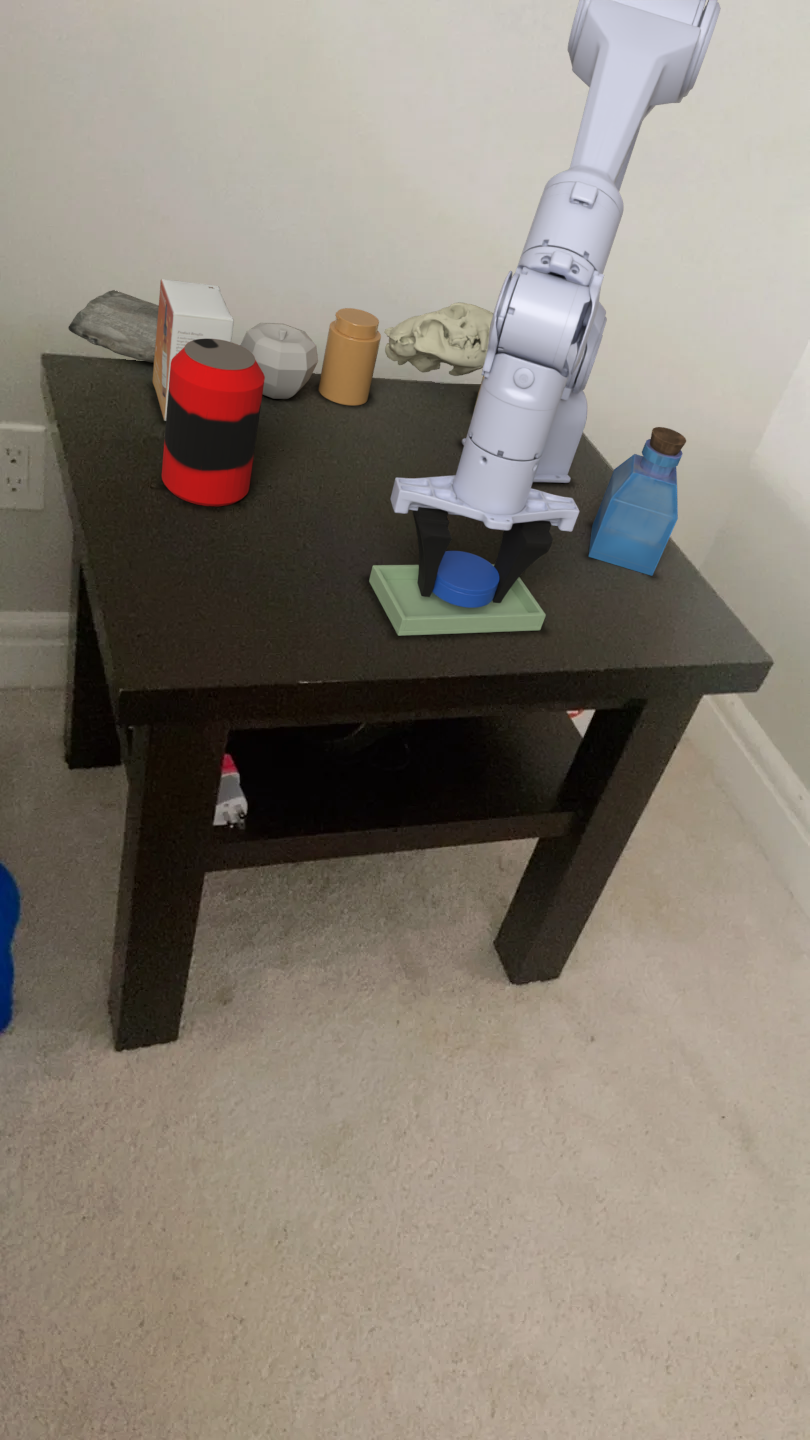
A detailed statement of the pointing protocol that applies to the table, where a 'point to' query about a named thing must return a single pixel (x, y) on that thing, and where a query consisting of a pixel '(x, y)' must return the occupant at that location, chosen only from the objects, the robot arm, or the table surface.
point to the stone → (119, 325)
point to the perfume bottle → (640, 505)
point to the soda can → (211, 422)
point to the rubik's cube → (479, 389)
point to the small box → (186, 325)
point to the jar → (350, 357)
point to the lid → (466, 580)
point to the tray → (449, 607)
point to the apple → (282, 357)
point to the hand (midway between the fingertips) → (458, 592)
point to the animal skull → (442, 339)
